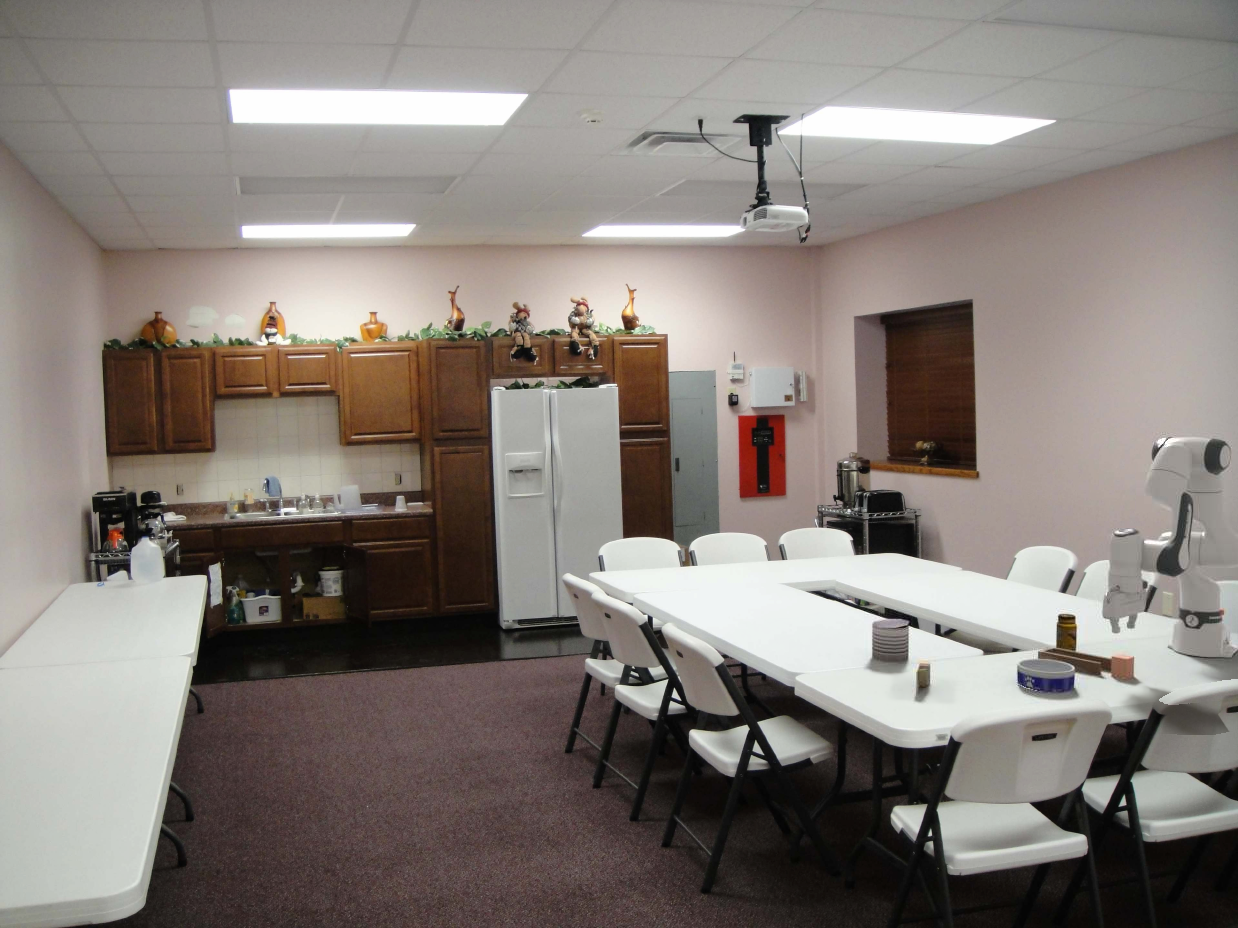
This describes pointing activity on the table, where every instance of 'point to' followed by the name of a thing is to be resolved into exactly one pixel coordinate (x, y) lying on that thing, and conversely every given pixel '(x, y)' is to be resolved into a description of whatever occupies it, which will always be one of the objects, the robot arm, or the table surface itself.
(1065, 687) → the dog bowl
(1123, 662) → the block
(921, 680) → the model
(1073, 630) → the condiment
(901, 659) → the can
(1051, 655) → the channel
